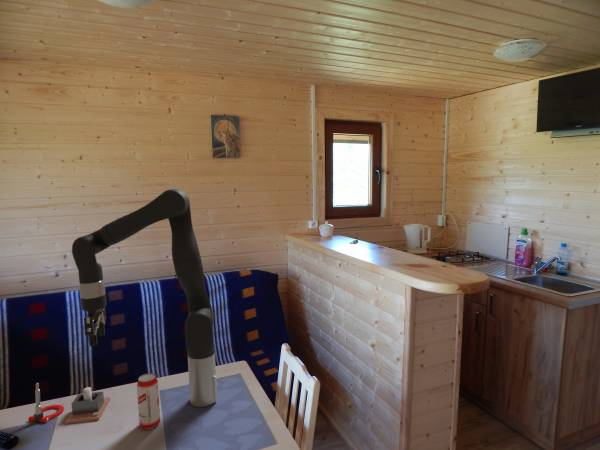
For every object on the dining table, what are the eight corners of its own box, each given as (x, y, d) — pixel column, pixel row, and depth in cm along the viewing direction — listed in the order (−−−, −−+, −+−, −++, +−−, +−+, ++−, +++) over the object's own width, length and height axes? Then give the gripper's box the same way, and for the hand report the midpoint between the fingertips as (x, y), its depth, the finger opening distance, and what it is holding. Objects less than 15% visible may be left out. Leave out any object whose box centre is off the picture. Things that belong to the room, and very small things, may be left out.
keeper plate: (109, 399, 138) (108, 378, 137) (99, 420, 126) (97, 397, 125) (79, 403, 136) (77, 381, 135) (65, 423, 125) (63, 400, 124)
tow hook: (48, 406, 135) (25, 421, 126) (46, 370, 134) (23, 383, 125) (69, 408, 134) (48, 424, 125) (68, 372, 133) (46, 385, 124)
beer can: (155, 416, 128) (152, 370, 126) (163, 424, 124) (161, 377, 122) (136, 424, 124) (133, 377, 122) (144, 433, 119) (141, 384, 117)
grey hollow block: (104, 402, 135) (103, 391, 134) (98, 412, 129) (97, 401, 128) (79, 405, 133) (78, 394, 133) (72, 415, 127) (71, 403, 127)
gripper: (98, 299, 123) (103, 347, 125) (110, 287, 137) (115, 331, 139) (72, 301, 122) (78, 350, 124) (88, 289, 136) (92, 333, 137)
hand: (97, 340), depth 131 cm, fingers open, 8 cm apart
